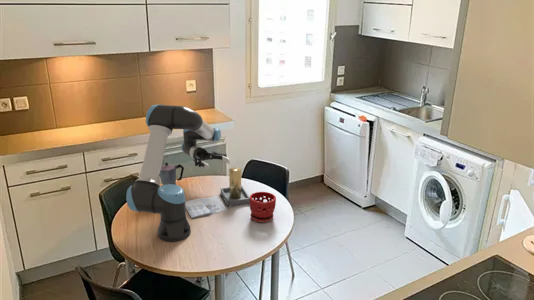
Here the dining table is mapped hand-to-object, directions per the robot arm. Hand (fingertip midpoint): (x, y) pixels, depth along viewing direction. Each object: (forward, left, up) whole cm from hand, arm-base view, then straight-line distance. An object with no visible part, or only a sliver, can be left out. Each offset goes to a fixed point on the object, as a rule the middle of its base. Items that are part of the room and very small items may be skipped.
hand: (219, 164), depth 229 cm
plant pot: (-30, -15, -19) cm, 39 cm away
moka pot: (+9, +26, -19) cm, 33 cm away
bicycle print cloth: (-10, +11, -20) cm, 25 cm away
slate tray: (-5, -7, -19) cm, 21 cm away
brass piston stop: (-5, -7, -18) cm, 20 cm away
